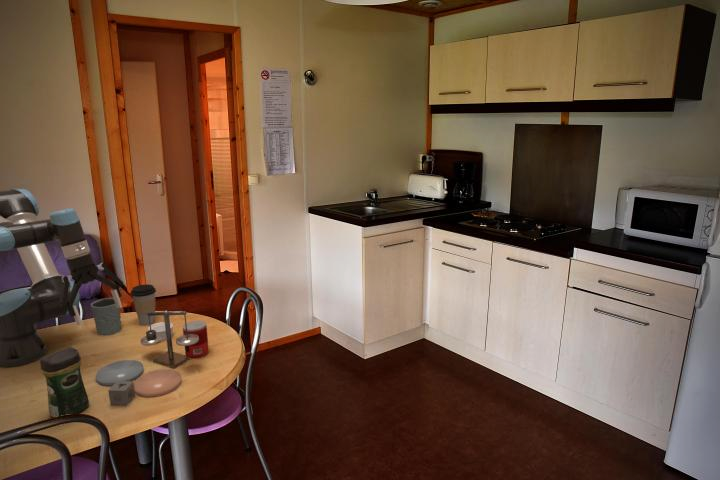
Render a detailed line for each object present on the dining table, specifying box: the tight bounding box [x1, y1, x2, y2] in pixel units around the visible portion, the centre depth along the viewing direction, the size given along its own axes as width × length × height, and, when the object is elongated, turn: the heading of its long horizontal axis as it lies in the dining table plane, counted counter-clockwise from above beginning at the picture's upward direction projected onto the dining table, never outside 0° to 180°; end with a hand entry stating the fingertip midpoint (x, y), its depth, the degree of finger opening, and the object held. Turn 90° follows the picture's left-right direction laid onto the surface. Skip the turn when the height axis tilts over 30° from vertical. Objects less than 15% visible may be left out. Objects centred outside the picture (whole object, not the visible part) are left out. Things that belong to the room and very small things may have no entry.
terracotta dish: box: [134, 368, 182, 398], centre depth 154 cm, size 14×14×2 cm
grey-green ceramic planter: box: [90, 297, 122, 336], centre depth 191 cm, size 10×10×12 cm
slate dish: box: [95, 359, 145, 387], centre depth 160 cm, size 14×14×2 cm
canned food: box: [182, 320, 210, 359], centre depth 172 cm, size 8×8×11 cm
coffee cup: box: [130, 284, 157, 326], centre depth 198 cm, size 9×9×15 cm
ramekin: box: [147, 321, 174, 342], centre depth 186 cm, size 9×9×4 cm
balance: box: [140, 310, 199, 370], centre depth 166 cm, size 24×7×20 cm, turn 64°
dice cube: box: [108, 380, 136, 407], centre depth 145 cm, size 5×5×5 cm
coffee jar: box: [39, 346, 90, 418], centre depth 138 cm, size 10×8×19 cm
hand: (100, 315), depth 164 cm, fingers open, 13 cm apart
